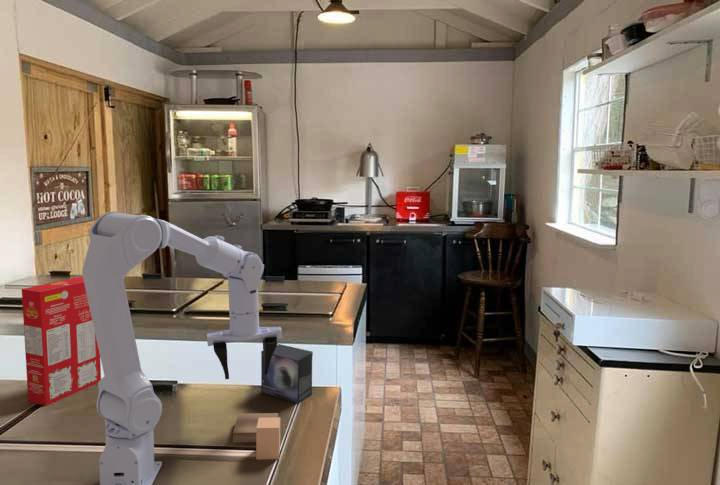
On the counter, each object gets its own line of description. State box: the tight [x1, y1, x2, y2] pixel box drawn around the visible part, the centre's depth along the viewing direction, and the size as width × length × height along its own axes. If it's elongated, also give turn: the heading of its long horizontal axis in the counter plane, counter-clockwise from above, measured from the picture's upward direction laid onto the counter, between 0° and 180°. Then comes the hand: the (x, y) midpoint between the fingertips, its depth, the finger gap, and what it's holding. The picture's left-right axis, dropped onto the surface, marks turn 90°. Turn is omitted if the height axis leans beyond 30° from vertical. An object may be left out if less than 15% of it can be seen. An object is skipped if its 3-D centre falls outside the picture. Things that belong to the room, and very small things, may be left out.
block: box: [255, 416, 281, 461], centre depth 97 cm, size 4×4×6 cm
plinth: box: [232, 412, 279, 444], centre depth 105 cm, size 8×8×2 cm
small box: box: [260, 343, 314, 404], centre depth 123 cm, size 11×6×10 cm, turn 62°
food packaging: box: [21, 276, 102, 407], centre depth 120 cm, size 15×5×25 cm, turn 160°
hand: (246, 375), depth 108 cm, fingers open, 7 cm apart
